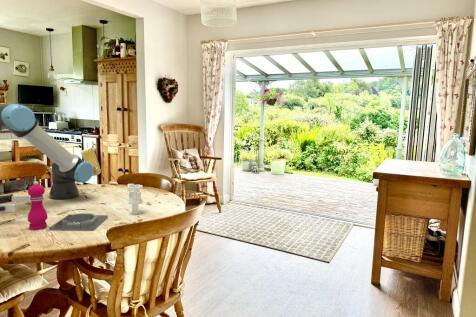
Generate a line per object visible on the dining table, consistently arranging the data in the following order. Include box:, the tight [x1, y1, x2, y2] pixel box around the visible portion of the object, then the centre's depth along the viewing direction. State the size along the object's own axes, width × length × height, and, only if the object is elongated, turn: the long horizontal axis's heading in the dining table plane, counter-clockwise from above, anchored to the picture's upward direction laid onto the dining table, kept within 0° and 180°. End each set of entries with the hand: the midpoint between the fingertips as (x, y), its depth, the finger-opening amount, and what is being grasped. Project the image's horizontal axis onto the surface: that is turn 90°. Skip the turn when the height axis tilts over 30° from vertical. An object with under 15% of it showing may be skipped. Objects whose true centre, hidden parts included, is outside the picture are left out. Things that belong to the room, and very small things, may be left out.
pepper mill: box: [27, 180, 48, 231], centre depth 137 cm, size 7×7×20 cm
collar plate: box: [48, 212, 109, 232], centre depth 145 cm, size 18×18×2 cm
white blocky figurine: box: [127, 183, 143, 215], centre depth 161 cm, size 7×7×15 cm
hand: (22, 203), depth 135 cm, fingers open, 13 cm apart
